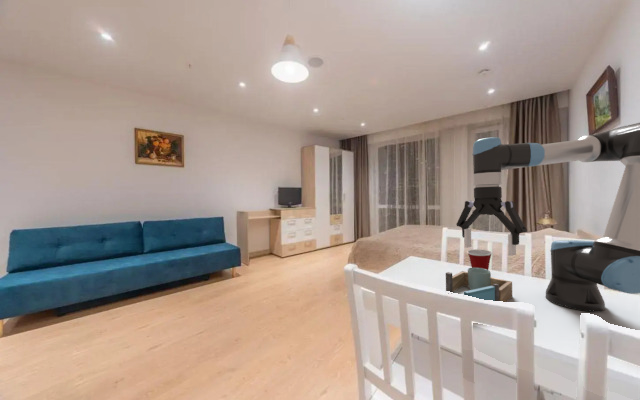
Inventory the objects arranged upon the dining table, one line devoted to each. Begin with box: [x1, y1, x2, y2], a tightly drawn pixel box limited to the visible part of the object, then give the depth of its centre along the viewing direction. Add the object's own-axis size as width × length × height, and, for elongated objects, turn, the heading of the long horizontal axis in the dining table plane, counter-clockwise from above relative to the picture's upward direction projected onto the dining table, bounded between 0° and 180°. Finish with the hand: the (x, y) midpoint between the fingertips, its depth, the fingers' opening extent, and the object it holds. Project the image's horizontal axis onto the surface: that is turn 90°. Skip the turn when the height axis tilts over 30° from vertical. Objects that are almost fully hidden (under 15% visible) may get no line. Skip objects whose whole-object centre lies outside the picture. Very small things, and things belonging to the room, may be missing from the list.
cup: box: [467, 267, 492, 290], centre depth 99 cm, size 8×8×10 cm
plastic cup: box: [466, 248, 493, 270], centre depth 122 cm, size 11×11×12 cm
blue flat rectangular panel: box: [463, 286, 495, 301], centre depth 86 cm, size 14×1×7 cm, turn 109°
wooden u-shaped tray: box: [445, 270, 513, 303], centre depth 99 cm, size 19×15×8 cm
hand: (488, 250), depth 80 cm, fingers open, 13 cm apart
